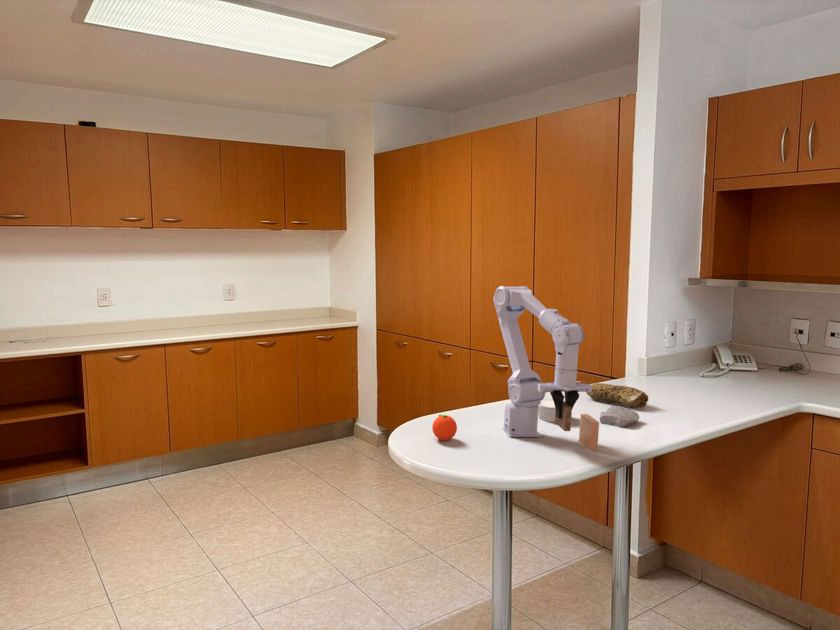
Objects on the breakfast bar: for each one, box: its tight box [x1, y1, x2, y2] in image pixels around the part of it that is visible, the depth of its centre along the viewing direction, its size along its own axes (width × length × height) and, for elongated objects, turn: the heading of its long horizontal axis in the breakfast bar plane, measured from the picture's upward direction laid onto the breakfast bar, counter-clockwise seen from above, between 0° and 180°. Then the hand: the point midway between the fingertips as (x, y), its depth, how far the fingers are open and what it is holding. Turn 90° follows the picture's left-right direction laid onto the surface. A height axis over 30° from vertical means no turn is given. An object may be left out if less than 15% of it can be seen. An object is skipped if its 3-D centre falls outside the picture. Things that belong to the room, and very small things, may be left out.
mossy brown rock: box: [585, 382, 649, 409], centre depth 219 cm, size 13×8×20 cm
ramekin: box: [538, 398, 565, 424], centre depth 196 cm, size 11×11×5 cm
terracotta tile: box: [578, 413, 600, 451], centre depth 170 cm, size 2×8×8 cm, turn 7°
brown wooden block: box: [554, 400, 573, 432], centre depth 165 cm, size 2×8×6 cm, turn 6°
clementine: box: [431, 414, 458, 441], centre depth 171 cm, size 8×7×7 cm
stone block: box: [599, 405, 640, 428], centre depth 195 cm, size 12×5×10 cm
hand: (562, 417), depth 165 cm, fingers closed on brown wooden block, 2 cm apart
